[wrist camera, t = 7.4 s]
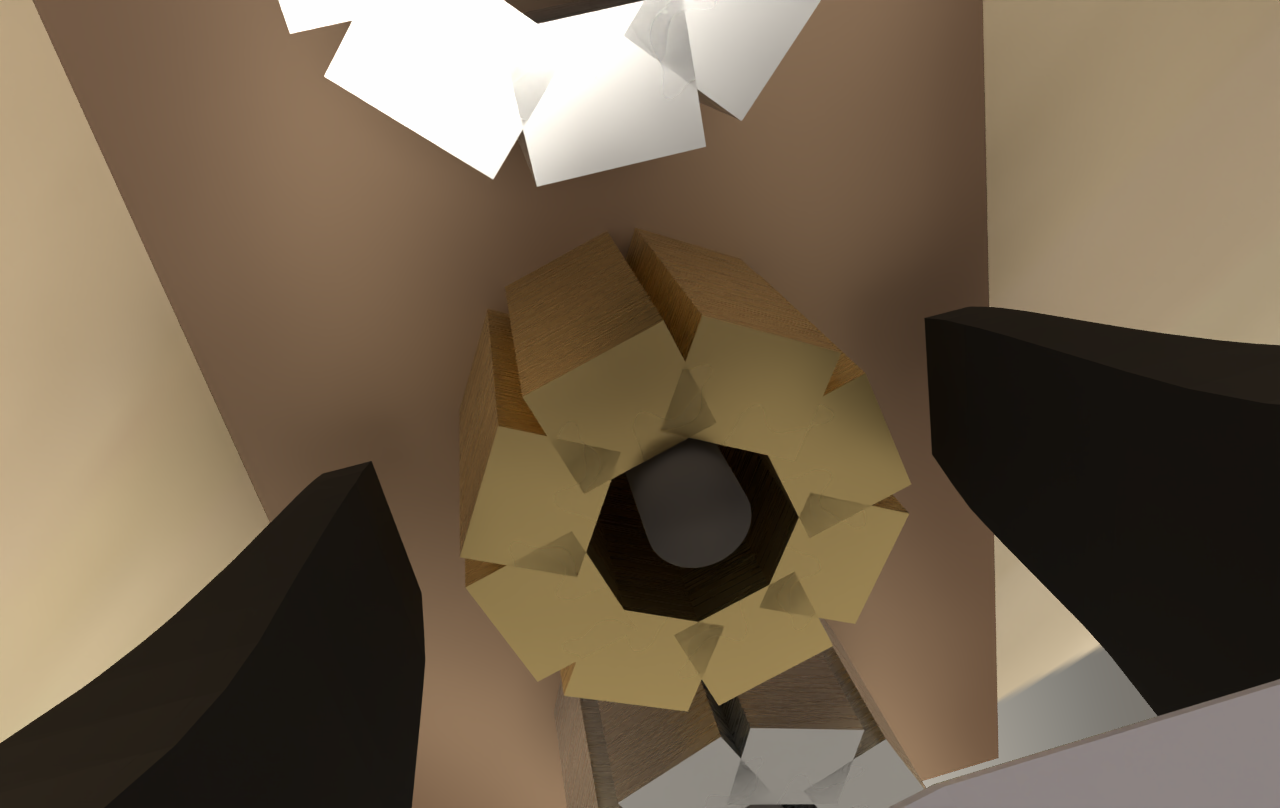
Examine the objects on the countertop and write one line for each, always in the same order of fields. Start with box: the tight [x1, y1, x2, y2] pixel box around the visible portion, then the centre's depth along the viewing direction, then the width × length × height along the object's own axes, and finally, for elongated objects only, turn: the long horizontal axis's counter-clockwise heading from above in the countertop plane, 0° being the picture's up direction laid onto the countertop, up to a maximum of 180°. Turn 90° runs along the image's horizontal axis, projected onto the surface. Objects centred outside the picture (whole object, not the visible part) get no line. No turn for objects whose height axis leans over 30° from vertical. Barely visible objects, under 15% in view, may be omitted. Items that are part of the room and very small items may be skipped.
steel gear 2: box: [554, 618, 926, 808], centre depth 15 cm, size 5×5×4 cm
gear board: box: [33, 0, 998, 808], centre depth 13 cm, size 12×22×6 cm, turn 11°
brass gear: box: [459, 228, 911, 712], centre depth 12 cm, size 5×5×4 cm
